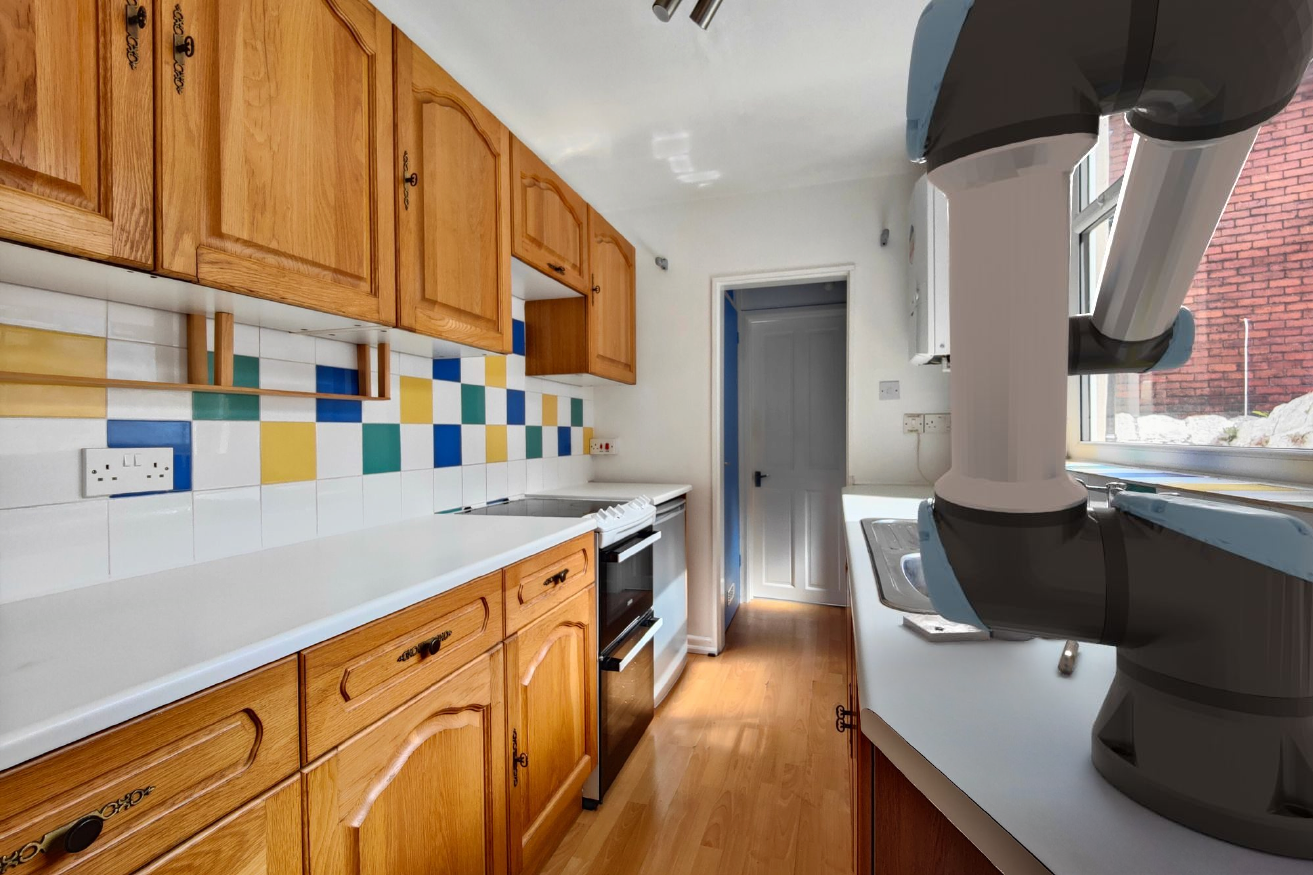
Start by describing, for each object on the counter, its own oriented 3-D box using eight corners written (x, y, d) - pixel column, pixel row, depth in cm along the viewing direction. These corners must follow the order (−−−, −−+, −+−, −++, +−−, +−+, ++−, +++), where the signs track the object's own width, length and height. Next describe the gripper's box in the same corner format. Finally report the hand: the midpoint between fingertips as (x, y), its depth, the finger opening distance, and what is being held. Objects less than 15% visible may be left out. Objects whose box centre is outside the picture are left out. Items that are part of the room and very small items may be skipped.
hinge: (933, 643, 76) (932, 627, 76) (901, 622, 84) (901, 608, 84) (1105, 637, 78) (1105, 622, 78) (1057, 618, 86) (1057, 604, 86)
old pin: (1072, 675, 65) (1072, 664, 65) (1057, 672, 66) (1057, 660, 66) (1079, 651, 73) (1078, 640, 73) (1065, 648, 74) (1065, 638, 74)
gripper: (1072, 423, 72) (1074, 600, 72) (980, 427, 91) (982, 568, 91) (1018, 424, 72) (1019, 602, 72) (937, 427, 90) (938, 569, 90)
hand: (998, 583), depth 81 cm, fingers closed on energy drink, 5 cm apart
